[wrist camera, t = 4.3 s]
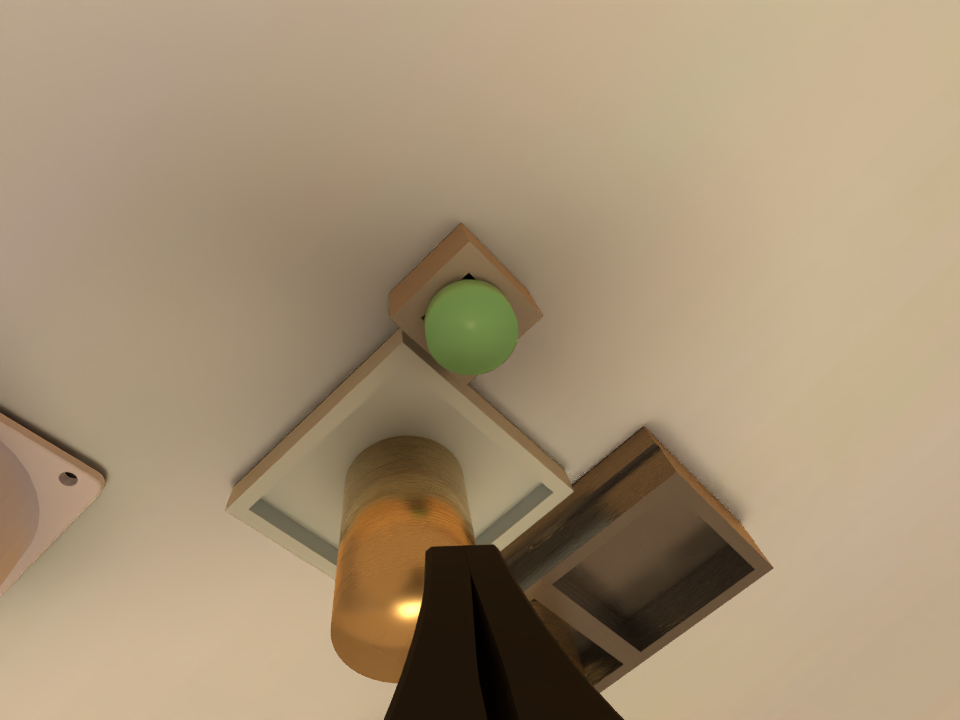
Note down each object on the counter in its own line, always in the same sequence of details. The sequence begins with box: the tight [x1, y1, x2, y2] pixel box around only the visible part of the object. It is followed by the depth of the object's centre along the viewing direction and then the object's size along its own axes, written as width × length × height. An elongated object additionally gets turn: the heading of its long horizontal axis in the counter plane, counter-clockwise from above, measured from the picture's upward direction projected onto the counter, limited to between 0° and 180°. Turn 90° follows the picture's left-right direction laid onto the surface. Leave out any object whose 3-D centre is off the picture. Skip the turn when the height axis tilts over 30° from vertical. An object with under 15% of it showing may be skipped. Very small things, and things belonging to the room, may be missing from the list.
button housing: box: [389, 223, 543, 386], centre depth 18 cm, size 3×3×2 cm
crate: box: [500, 427, 773, 693], centre depth 24 cm, size 7×12×2 cm, turn 133°
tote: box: [225, 329, 574, 580], centre depth 21 cm, size 8×8×1 cm
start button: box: [424, 278, 518, 375], centre depth 18 cm, size 2×2×3 cm
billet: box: [331, 435, 476, 683], centre depth 19 cm, size 4×4×6 cm
